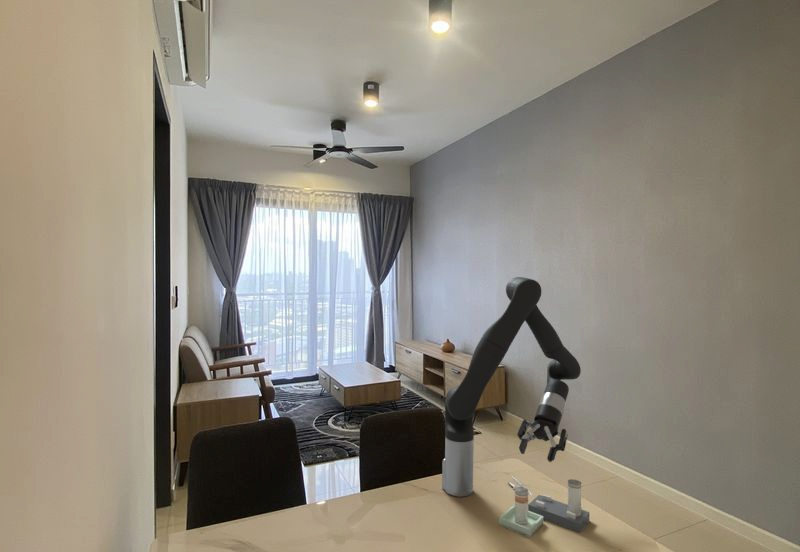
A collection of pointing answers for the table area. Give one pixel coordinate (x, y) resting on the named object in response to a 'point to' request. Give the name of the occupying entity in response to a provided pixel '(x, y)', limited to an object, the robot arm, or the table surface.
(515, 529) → the tray
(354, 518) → the table surface
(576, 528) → the fuse holder
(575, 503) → the plain fuse
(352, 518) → the table surface
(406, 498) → the table surface
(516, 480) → the picture light
